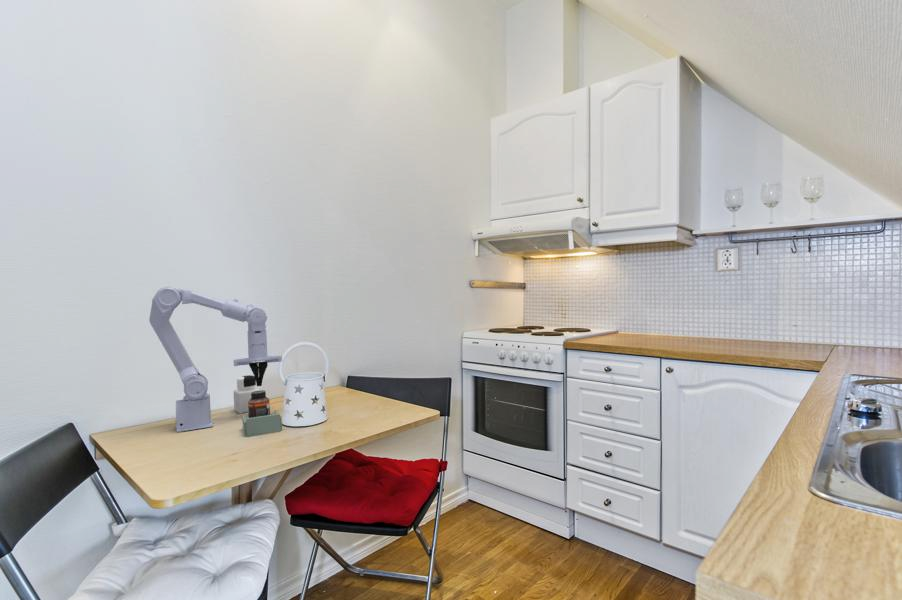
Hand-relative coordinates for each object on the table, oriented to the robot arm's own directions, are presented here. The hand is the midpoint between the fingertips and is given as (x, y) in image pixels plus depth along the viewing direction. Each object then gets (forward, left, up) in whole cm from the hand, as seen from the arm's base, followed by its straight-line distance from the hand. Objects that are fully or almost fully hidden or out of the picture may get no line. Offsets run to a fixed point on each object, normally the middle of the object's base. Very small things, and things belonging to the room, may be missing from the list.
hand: (259, 385), depth 148 cm
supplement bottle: (-2, -15, -11) cm, 18 cm away
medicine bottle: (-3, +13, -11) cm, 17 cm away
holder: (-1, -16, -10) cm, 19 cm away
